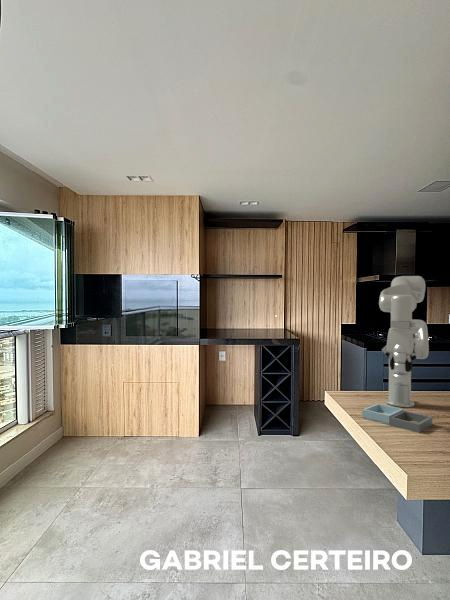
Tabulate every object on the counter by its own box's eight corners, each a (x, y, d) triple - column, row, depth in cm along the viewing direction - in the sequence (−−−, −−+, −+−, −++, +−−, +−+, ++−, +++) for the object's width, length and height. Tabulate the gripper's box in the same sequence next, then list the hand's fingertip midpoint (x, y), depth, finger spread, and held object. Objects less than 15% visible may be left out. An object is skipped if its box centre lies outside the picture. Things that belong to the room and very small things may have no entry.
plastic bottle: (407, 384, 145) (408, 335, 144) (411, 388, 138) (411, 337, 138) (390, 383, 146) (390, 335, 146) (393, 387, 140) (393, 337, 140)
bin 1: (377, 411, 156) (377, 403, 156) (403, 417, 148) (403, 409, 148) (362, 417, 146) (362, 409, 146) (389, 424, 138) (389, 416, 138)
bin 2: (403, 417, 148) (403, 410, 148) (432, 424, 139) (432, 416, 139) (389, 424, 138) (389, 417, 138) (419, 432, 130) (419, 424, 130)
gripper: (427, 326, 139) (427, 372, 139) (383, 323, 151) (383, 365, 151) (421, 327, 133) (420, 375, 133) (376, 324, 146) (375, 368, 146)
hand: (400, 369), depth 142 cm, fingers closed on plastic bottle, 5 cm apart
